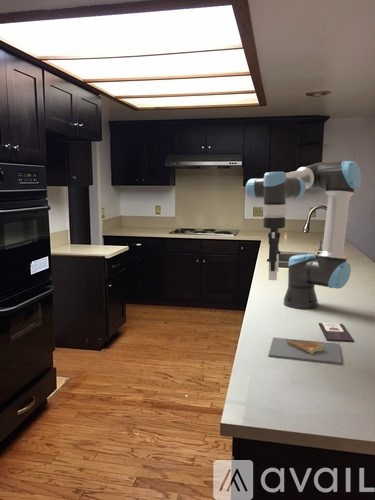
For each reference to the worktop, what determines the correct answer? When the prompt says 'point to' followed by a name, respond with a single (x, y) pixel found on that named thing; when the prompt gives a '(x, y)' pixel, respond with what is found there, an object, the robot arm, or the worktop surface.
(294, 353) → the rubber mat
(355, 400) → the worktop surface
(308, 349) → the shard
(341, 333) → the chocolate bar
